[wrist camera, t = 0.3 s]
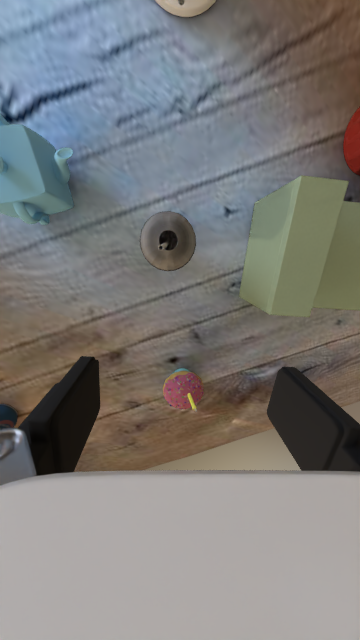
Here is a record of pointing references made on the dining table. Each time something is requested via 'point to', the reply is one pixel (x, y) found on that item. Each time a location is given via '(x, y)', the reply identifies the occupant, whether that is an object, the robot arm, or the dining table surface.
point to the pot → (353, 143)
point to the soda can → (7, 416)
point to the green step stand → (303, 249)
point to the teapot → (32, 175)
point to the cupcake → (183, 389)
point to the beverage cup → (167, 241)
